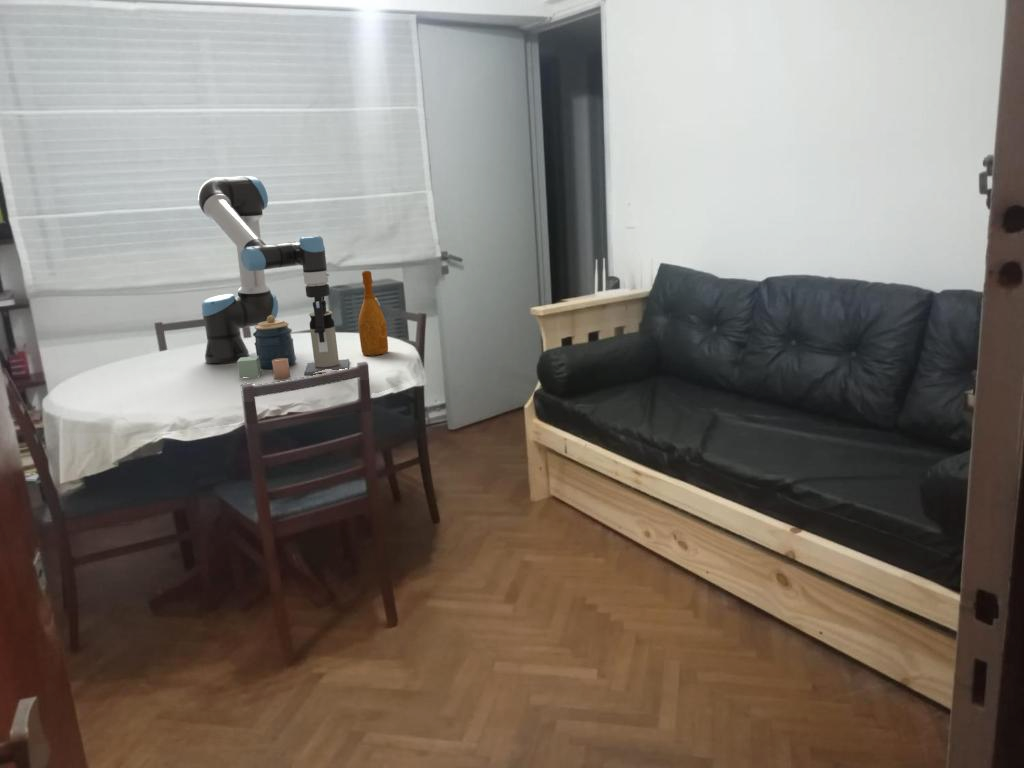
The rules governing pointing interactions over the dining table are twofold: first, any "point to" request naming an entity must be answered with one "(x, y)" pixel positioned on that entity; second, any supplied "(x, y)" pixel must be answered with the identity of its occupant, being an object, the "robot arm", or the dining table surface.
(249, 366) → the sage block
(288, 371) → the salmon block
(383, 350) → the wine bottle
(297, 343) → the dining table surface
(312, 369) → the mat
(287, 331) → the canister
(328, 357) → the travel mug
